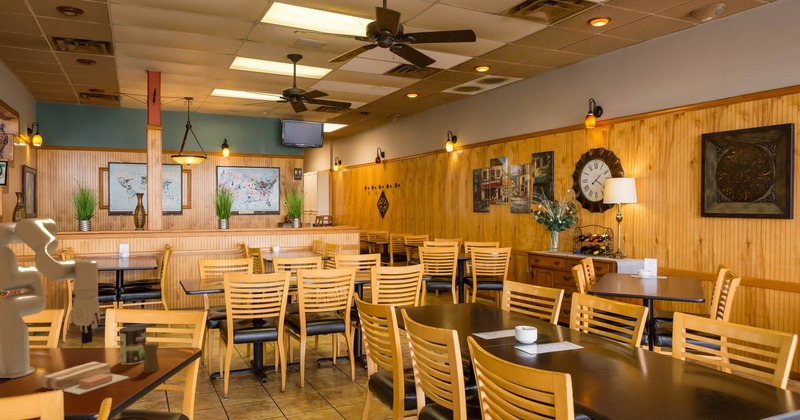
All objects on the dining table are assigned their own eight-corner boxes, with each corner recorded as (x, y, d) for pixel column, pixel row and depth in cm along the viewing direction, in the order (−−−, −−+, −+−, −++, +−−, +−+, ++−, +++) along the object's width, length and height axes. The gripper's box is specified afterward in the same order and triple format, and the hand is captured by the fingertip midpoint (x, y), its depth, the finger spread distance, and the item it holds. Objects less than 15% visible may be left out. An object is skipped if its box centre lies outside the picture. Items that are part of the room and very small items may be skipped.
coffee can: (152, 358, 239) (151, 325, 238) (136, 365, 229) (135, 331, 228) (131, 357, 241) (130, 325, 241) (114, 364, 231) (113, 330, 230)
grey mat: (59, 390, 199) (59, 389, 199) (110, 374, 217) (110, 373, 217) (79, 395, 195) (79, 393, 195) (129, 378, 212) (129, 377, 212)
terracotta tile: (89, 382, 200) (90, 388, 200) (112, 375, 209) (112, 380, 209) (79, 380, 203) (79, 385, 203) (101, 373, 211) (101, 378, 211)
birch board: (42, 387, 204) (42, 376, 204) (93, 371, 222) (93, 361, 222) (59, 390, 199) (59, 379, 199) (110, 374, 217) (110, 364, 217)
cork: (162, 368, 224) (161, 341, 224) (156, 372, 218) (155, 344, 218) (147, 368, 224) (146, 341, 224) (140, 373, 218) (139, 345, 218)
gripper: (63, 293, 207) (64, 342, 207) (89, 297, 200) (90, 347, 201) (83, 290, 213) (83, 337, 214) (109, 293, 207) (109, 342, 207)
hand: (87, 342), depth 207 cm, fingers closed
